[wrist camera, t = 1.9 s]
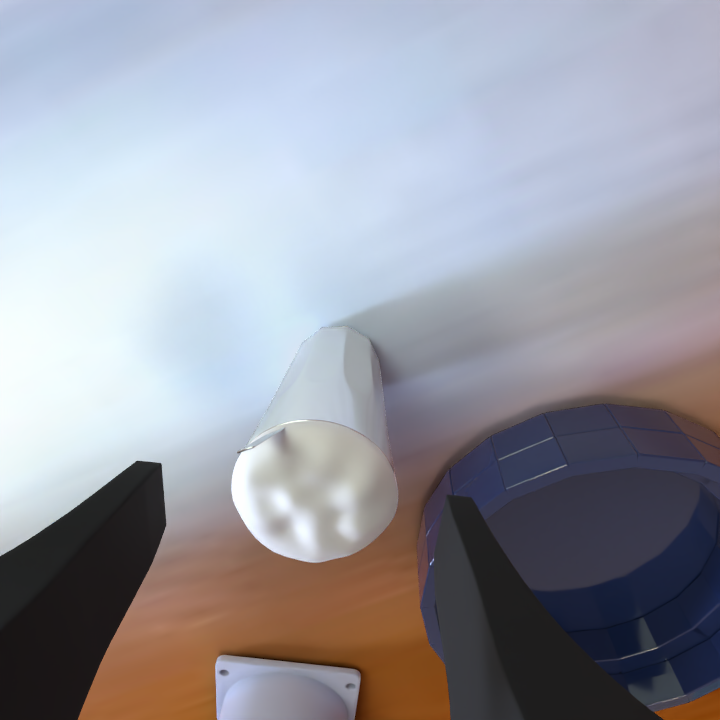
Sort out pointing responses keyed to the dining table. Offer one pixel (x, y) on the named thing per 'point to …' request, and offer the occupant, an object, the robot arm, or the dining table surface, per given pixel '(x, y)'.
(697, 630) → the bowl
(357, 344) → the milkshake
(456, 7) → the dining table surface
